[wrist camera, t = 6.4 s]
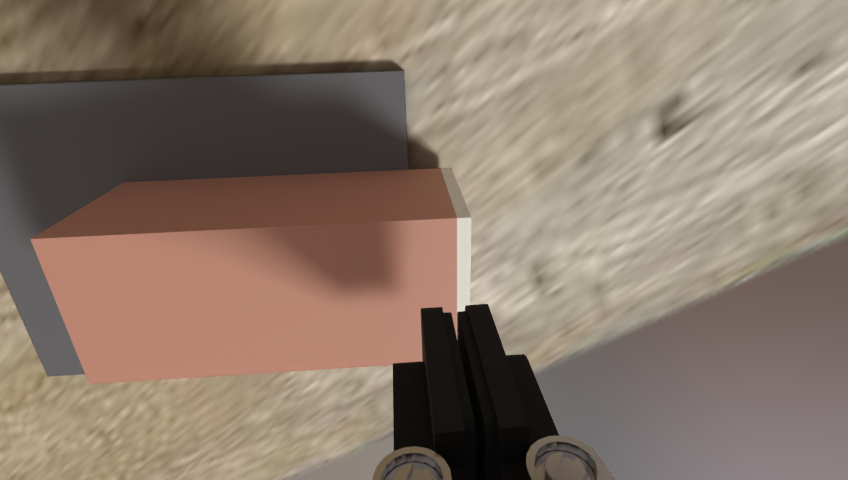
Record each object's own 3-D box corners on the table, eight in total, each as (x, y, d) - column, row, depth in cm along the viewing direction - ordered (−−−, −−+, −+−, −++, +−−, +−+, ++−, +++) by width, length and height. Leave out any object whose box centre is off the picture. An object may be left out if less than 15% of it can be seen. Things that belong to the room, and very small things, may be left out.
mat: (403, 69, 17) (403, 71, 17) (415, 346, 22) (416, 353, 22) (-69, 86, 16) (-82, 88, 16) (55, 368, 21) (47, 376, 21)
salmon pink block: (470, 217, 14) (30, 239, 13) (469, 360, 16) (89, 383, 15) (451, 167, 18) (123, 182, 18) (451, 283, 20) (159, 299, 20)
